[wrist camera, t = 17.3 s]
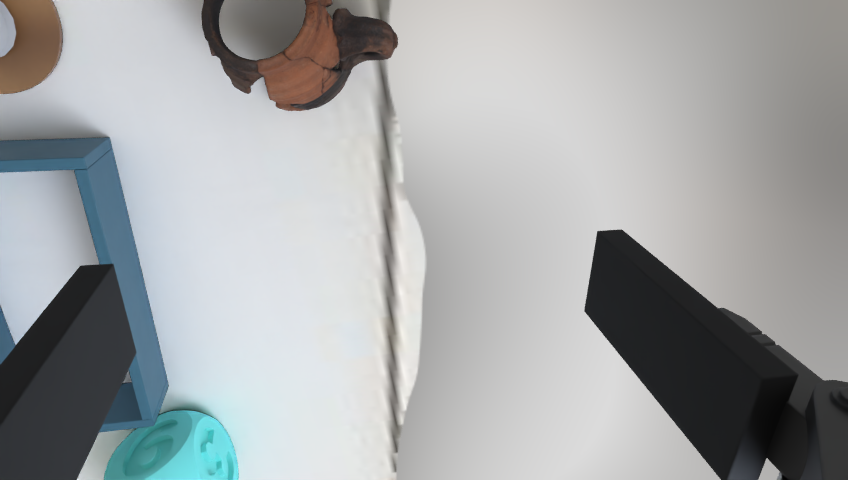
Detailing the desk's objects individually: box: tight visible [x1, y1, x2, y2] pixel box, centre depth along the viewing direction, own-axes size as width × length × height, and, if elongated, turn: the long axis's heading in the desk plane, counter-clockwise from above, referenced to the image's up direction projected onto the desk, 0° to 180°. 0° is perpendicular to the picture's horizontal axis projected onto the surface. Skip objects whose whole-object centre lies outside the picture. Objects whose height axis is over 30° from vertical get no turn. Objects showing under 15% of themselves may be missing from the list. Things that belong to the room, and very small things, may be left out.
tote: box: [0, 137, 169, 432], centre depth 41 cm, size 23×12×5 cm, turn 179°
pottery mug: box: [202, 0, 398, 111], centre depth 36 cm, size 12×10×8 cm
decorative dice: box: [104, 410, 239, 480], centre depth 48 cm, size 8×8×8 cm
